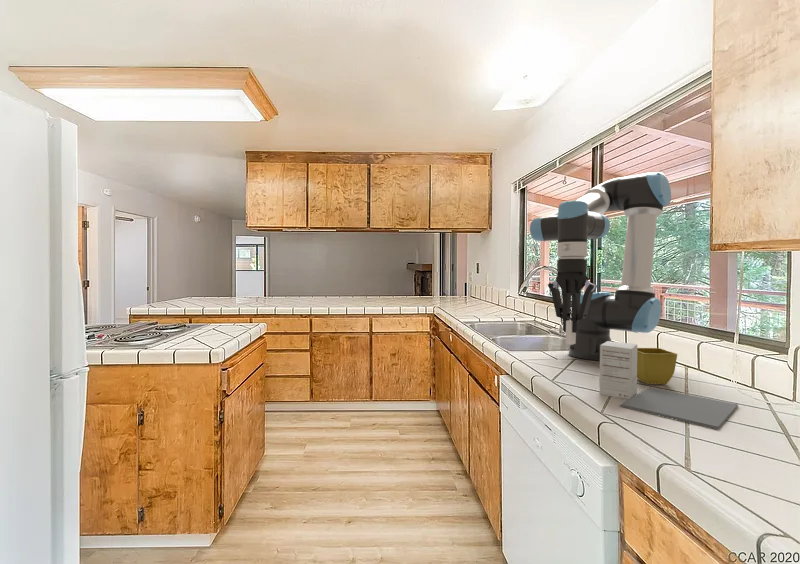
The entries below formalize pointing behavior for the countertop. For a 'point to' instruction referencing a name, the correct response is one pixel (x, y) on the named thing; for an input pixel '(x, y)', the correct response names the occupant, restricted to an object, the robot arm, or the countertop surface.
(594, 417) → the countertop surface
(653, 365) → the flower pot
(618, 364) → the supplement box
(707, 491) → the countertop surface
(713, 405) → the mat
